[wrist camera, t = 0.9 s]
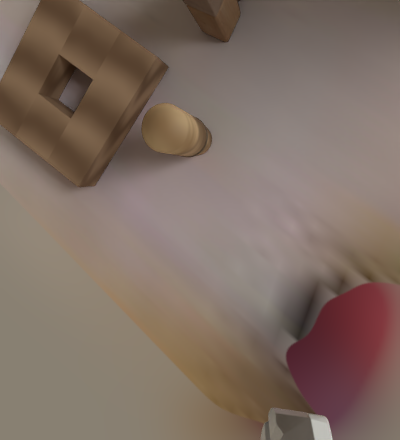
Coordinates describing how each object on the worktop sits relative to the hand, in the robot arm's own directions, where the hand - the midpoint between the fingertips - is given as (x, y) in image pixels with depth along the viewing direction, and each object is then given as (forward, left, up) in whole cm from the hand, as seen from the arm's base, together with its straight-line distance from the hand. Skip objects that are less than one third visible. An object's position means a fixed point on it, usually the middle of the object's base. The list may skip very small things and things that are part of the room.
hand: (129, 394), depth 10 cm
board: (0, -27, -35) cm, 44 cm away
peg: (-4, -11, -35) cm, 37 cm away
